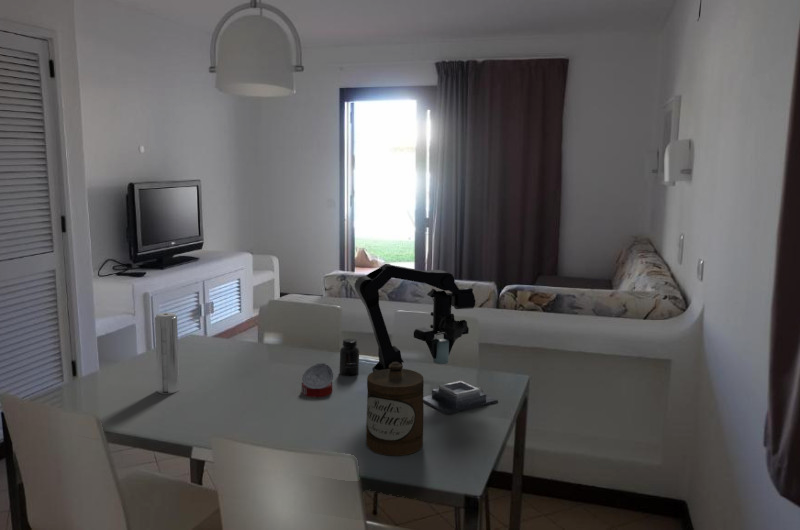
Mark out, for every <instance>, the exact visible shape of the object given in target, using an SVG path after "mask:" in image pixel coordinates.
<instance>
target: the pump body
mask: <svg viewBox="0 0 800 530" xmlns="http://www.w3.org/2000/svg"><path fill="white" fill-rule="evenodd" d="M438 339H439V342H438V343H437V355H436V359H434V358H433V357H432V363H434V364H437V365H446V364H447V365H448V363H449V358H450V357H449V356H450V354H449V340H446V339H444V338H438Z"/></svg>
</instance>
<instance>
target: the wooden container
mask: <svg viewBox="0 0 800 530" xmlns="http://www.w3.org/2000/svg"><path fill="white" fill-rule="evenodd" d="M402 365H403V363H402V364H401V363H399V362H392V363H391V364H390V365H389V369H383V370H378V371H375V372H373V371H372V372H371V373H369V374H368V375H367V376H366V377H367V378H366V388H367V398H366V399H367V400H366V401H367V402H366V420H365V421H366V423H365V424H366V425H365V429H366V433H365V434H366V435H365V436H366V440H365V441H366V443H365V444H366V446H367V447H368V449H369V450H371V451H372V452H374V453H377V454H380V455H384V456H392V457H401V456H406V455H410V454H414V453H416V452H418V451H420V450H421V448H423V446H424V425H425V424H424V420H425V419H424V417H425V416H424V412H425V411H424V402H423V397H424V383H425V381H424V380H425V379H424V376H423V375H422V374H421V373H420V372H418V371H416V370H411V369H407V368H406V369H405V368H402Z"/></svg>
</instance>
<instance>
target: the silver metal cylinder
mask: <svg viewBox="0 0 800 530" xmlns="http://www.w3.org/2000/svg"><path fill="white" fill-rule="evenodd" d="M154 332H155V334H154V335H155V338H154V339H155V360H156V361H155V363H156V384H157V385H156V386H157V387H156V389H157V393H158V394H160V395H171V394H176V393H178V391H180V375H179V373H180V371H179V370H180V368H179V344H178V343H179V340H178V339H179V337H178V316H177V315H176V313H174V312H160V313H159V312H158V313H157V314H156V315H155V317H154Z"/></svg>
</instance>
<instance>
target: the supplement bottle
mask: <svg viewBox="0 0 800 530" xmlns="http://www.w3.org/2000/svg"><path fill="white" fill-rule="evenodd" d="M357 341H358V340H357V339H354V338H344V339H343V340H342V346H341V348H340V349H339V350H340V351H339V367H338V368H339V371H338V372H339V374H340V375H341V376H346V377H353V375H354V376H356V374H357V375H358V374H359V371H360V368H359V367H360V349H359V347H357V345H358V344H357V343H358V342H357Z"/></svg>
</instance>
